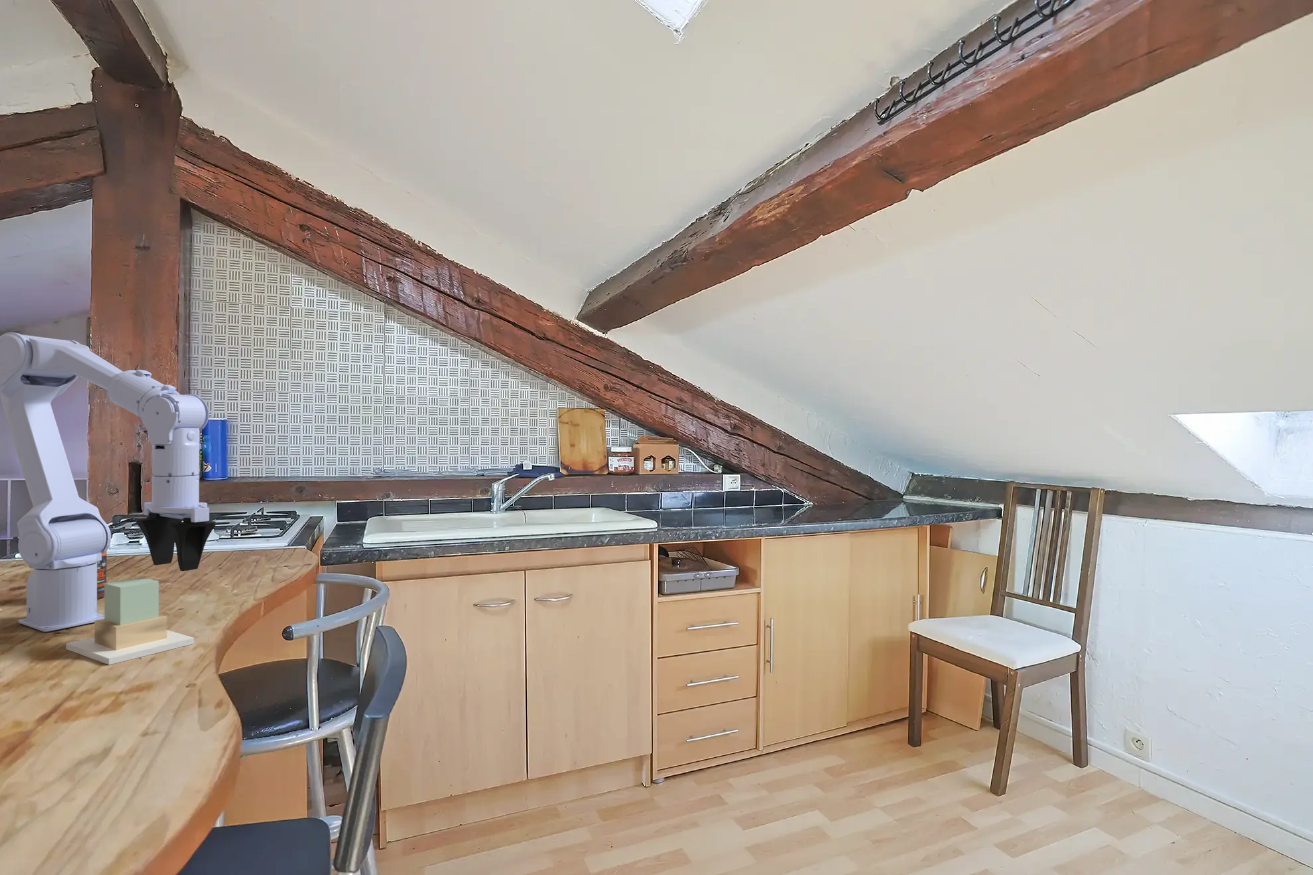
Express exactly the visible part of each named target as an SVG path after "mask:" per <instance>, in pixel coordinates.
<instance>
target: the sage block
mask: <svg viewBox="0 0 1313 875" xmlns="http://www.w3.org/2000/svg"><path fill="white" fill-rule="evenodd" d="M159 582H160V581H159V580H155V579H152V578H146V577H138V578H137V577H136V578H130V579H123V580H119V581H118V580H117V581H111V582H107V583H105V596H104V615H105V620H106V621H109V622H112V623H115V624H118V625H123V624H128V623H133V622H138V621H143V620H148V619H152V618H157V617H159V615H160V607H159V606H160V605H159V604H160V599H159V598H160V595H159V594H160V592H159V590H160V588H159V587H160V583H159Z"/></svg>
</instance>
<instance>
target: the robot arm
mask: <svg viewBox="0 0 1313 875" xmlns="http://www.w3.org/2000/svg"><path fill="white" fill-rule="evenodd" d="M78 378H81V379H83V380H85V381H87V382H89V383H92V384H93V385H95V386H98V388H99V387H100V388H102V389H104V390H106V391H107V396H108V398H109V400H110V401H111V403H113V404H114V405H117V406H119V407H120V408H123V409H124V410H125V411H128V412H130V413H132V414H133V415H135V416H136V417H139V418H140V419H141V422H142V425H143V426H144V427H145V429H146V431H147V441H149V444H150V445H151V501H148V502H145V501H144V502H143V515H144V516H146V518H140V519H139V518H137V519H136V521H135V523H136V525H137V527H138V528H139V529H140V531H141V532H142V534H143V536H144V538H145V540H146V543H147V546H148V547H147V548H148V549H149V552H150V557H151V560H152V563H153V565H154V566H160V565H168V564H172V561H173V559H174V551H175V549H176V557H177V558H176V559H177V563H178V568H179V571H180V572H188V571H194V570H198V569H199V566H200V562H201V558H202V556H203V551H204V548H205V545H206V543H207V540H208V538H210V535H211V533H212V532H213V530H214V528H215V527H216V525H217V524H216V521H215V520H214V521H213V520H210V507H208V503H207V502H204V501H203V502H202V501H201V502H200V432H201V431H202V430H203V429H205V427H206V426H207V424H208V421H209V418H210V410H209V407H208V404H207V403H206V401H205V400H204V399H202V398H201V397H200V396H199V395H198V394H195V393H193V394H192V393H187V394H180V393H179V391H177V389H176V386H173V385H171V384H163V383H162V382H160V381H158V380H156V379H154V378H153V377H152V373H151V372H149V371H148V370H144V369H136V370H135V369H128V370H125V371H123V370H121V369H120V368H118V367H116V366H115V365H113V364H112V363H110V362H108V361H107V360H105V359H103V358H102V357H101V356H99V355H98V354H96V353H94V352H93V351H91V349H90V347H89V346H87V345H85V344H81V343H80V342H78V341H76V340H73V339H59V338H50V337H42V336H37V335H36V336H35V335H27V334H21V333H18V332H12V331H10V332H5V333H3V334H2V335H0V401H1V406H2V409H3V412H4V415H5V418H6V421H7V425H8V428H9V432H10V434H11V438H12V441H13V445H14V448H15V452H16V454H17V455H16V456H17V458H18V461H19V465H20V467H21V471H22V474H23V478H24V480H25V485H26V488H27V491H28V494H29V497H30V501H31V503H32V507H31V509H30V510H29V511H27V513H25V514H24V515H23V516H22V517H21V518H20V519H19V520H18V521H17V523H16V526H17V530H18V544H17V545H18V546H17V548H18V549H17V550H18V553H19V555H20V557H21V559H22V560H23V561H24V563H25V564H27V565H28V569H33V570H32V571H31V572H30V573H29V575H28V577H27V580H26V618H21V619H19V620H18V622H17V623H18V624H21V625H24V626H27V627H30V628H32V629H36V630H38V631H41V632H44V633H45V632H53V631H58V630H62V629H66V628H68V629H69V628H71V627H77V626H78V627H79V626H81V625H82V626H83V625H86V624H92V623H95V621H96V620H101V619H105V614H103V613H99V612H98V599H97V561H100V560H102V554H104V553H105V552H106V551H107V552H108V549H109V548H110V546H111V543H112V533H111V530H110V526H109V525H108V524H107V522H106V521H105V520H104V519H103V518H102V516H101V514H100V510H99V508H98V507H97V506H96V505H93V504H92V503H90V502H88V501H86V500H84V499H82V498H81V497H79V493H78V490H77V486H76V484H75V483H76V482H75V480H74V475H73V474H72V470H71V467H70V463H69V461H68V457H67V453H66V451H65V447H64V443H63V440H62V437H61V434H60V431H59V427H58V424H57V421H56V418H55V414H54V411H53V408H52V401H53V400H54V399H55V398H56V397H59V396H61V395H63V394H64V392H66V391H67V390H68V388H70V387H71V386H72V385H73V383H75V381H77V380H78Z"/></svg>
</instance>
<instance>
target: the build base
mask: <svg viewBox="0 0 1313 875" xmlns="http://www.w3.org/2000/svg"><path fill="white" fill-rule="evenodd" d="M194 644H195V637H193V636H190V635H186V634H183V633H179V632H176V631H172V630H169V629H168V616H166V615H162V614H159V617H157V618H152V619H148V620H143V621H138V622H133V623H128V624H123V625H118V624H115V623H112V622H109V621H106V620H105V619H101V620H96V621H95V622H94V636H93V637H89V638H84V639H80V640H75V641H70V642H67V643H66V644H65V649H66V650H68V651H70V652H73V653H75V654H78V655H81V656H84V657H86V658H89V659H92V660H94V661H97V662H100V663H103V664H106V665H109V666H110V665H113V664H118V663H121V662H126V661H130V660H134V659H139V658H142V657H146V656H150V655H153V654H158V653H163V652H166V651H170V650H174V649H179V648H182V647H186V646H191V645H194Z"/></svg>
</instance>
